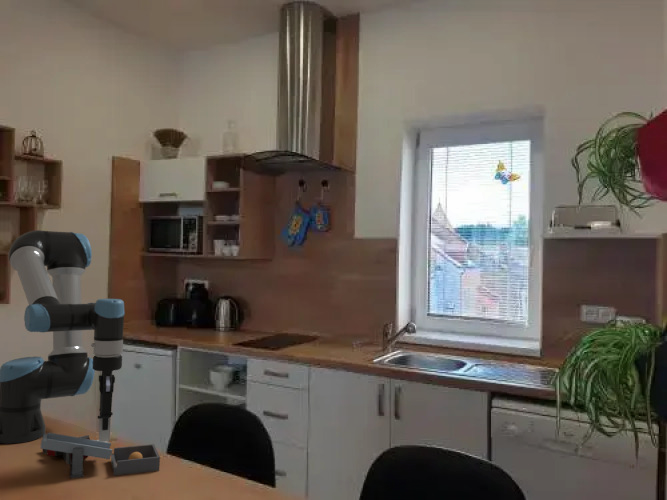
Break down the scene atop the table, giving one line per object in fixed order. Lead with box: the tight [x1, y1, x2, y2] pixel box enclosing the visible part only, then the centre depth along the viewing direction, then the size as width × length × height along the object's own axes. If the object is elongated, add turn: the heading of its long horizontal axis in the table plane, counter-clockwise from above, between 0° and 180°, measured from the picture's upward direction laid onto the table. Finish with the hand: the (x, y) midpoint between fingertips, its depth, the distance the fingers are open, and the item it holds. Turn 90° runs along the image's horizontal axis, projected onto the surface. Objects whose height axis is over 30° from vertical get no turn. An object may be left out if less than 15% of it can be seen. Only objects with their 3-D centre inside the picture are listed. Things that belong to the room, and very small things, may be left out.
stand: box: [69, 447, 84, 479], centre depth 145 cm, size 9×3×7 cm, turn 25°
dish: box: [110, 443, 161, 476], centre depth 151 cm, size 11×11×4 cm
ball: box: [129, 452, 143, 460], centre depth 151 cm, size 4×4×4 cm
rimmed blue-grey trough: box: [40, 432, 113, 460], centre depth 148 cm, size 12×17×2 cm
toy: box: [42, 434, 91, 466], centre depth 156 cm, size 9×6×15 cm
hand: (104, 440), depth 154 cm, fingers closed
